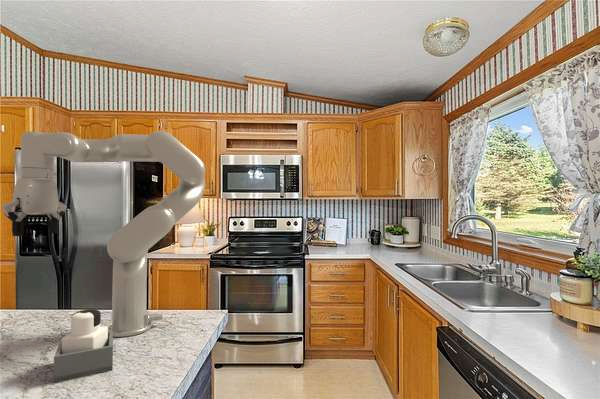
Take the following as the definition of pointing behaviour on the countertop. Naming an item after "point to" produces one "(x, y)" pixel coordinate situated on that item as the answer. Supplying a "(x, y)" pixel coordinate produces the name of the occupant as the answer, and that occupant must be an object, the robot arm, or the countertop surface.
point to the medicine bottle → (85, 332)
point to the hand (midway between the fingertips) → (36, 234)
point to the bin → (83, 361)
